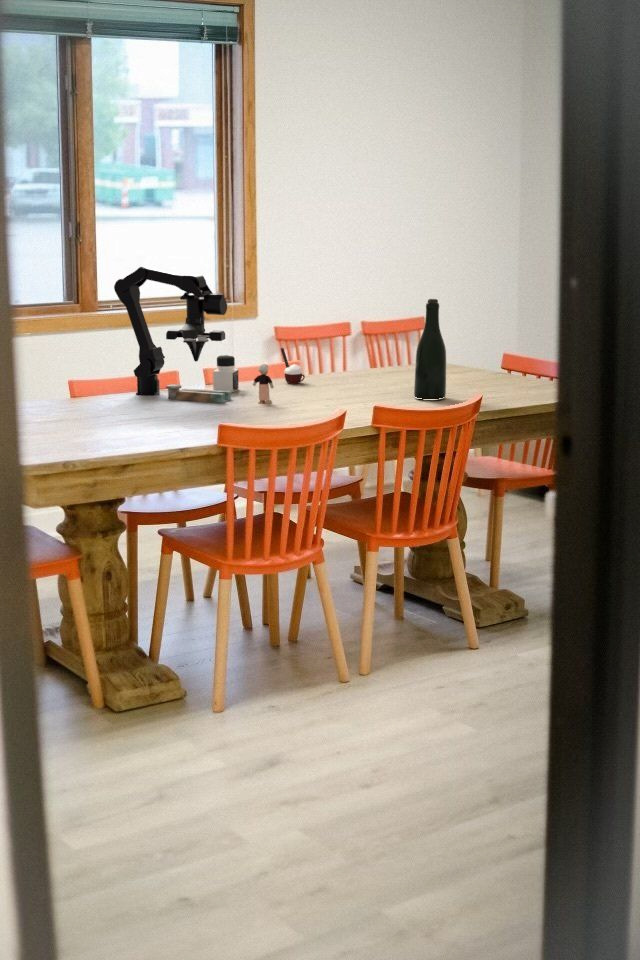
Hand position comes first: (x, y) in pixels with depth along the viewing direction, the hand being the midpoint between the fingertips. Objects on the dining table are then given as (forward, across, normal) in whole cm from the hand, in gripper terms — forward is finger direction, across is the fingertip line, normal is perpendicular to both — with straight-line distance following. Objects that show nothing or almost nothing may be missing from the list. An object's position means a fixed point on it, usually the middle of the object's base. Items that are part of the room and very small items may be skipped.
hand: (196, 361), depth 403 cm
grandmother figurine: (+12, +24, -5) cm, 27 cm away
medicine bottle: (+12, +6, +15) cm, 20 cm away
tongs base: (+12, +1, -4) cm, 13 cm away
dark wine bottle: (+12, +76, +15) cm, 78 cm away
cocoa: (+12, +25, +36) cm, 46 cm away
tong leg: (+12, +3, -7) cm, 14 cm away
